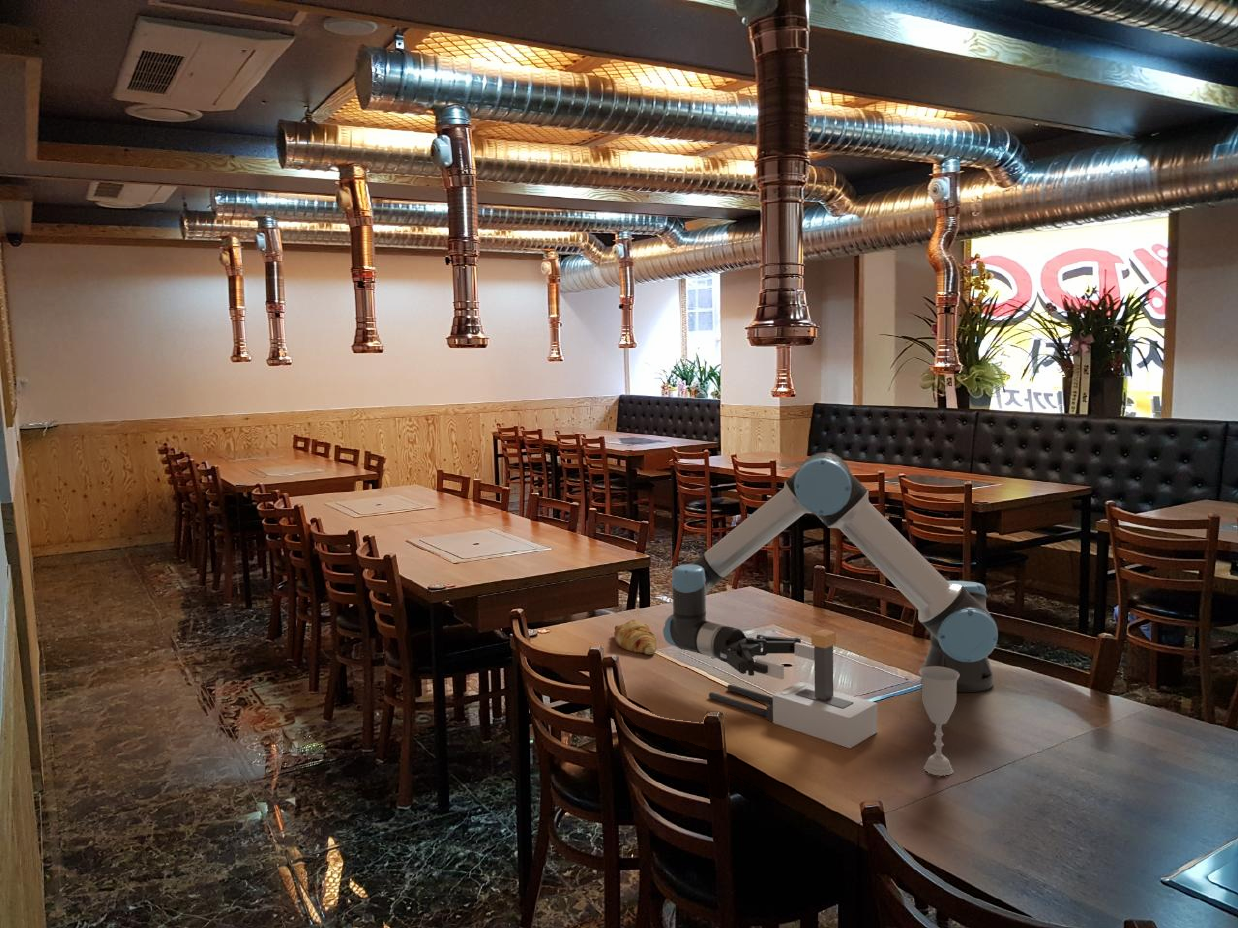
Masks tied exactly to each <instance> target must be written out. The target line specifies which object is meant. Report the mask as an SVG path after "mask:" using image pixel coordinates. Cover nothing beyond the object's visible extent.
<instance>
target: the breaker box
mask: <svg viewBox="0 0 1238 928" xmlns="http://www.w3.org/2000/svg"><path fill="white" fill-rule="evenodd" d="M772 697H773V704H772V705H773V721H772V723H773V724H776V725H779V726H781V727H784V728H788V729H791V730H794V731H796V732H800V733H802V734H805V735H808V736H812V737H815V738H818V739H821V740H824V741H827V742H829V743H834V744H836V745H839V746H842V747H845V748H848V749H852V748H853V747H856V746H857V745H858V744H860V743H862V742H863V741H865V740H867V739H868V738H870V737H871V736H873V735H875V734H876V733H878V703H877V702H874V701H871V700H868V699H864V698H860V697H857V696H853V695H850V694H846V693H843V692H839V691H835V690H833V696H832V697H830V698H828V699H826V700H823V699H819V698H816V697H815V684H811V683H807V682H804V681H800V682H797V683H795V684H793V685H791V686H788V687H787V688H784V689H782V690H780V691H778V692H775V693H774V694H773V693H772Z"/></svg>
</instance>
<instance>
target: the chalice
mask: <svg viewBox="0 0 1238 928" xmlns="http://www.w3.org/2000/svg"><path fill="white" fill-rule="evenodd" d="M918 670H919V671H918V673H919V675H920V677H921V700H922V703H923V707H924V709H925V711H926V713H927V716H928V717H929V720H930V722H931V723H933V724H935V727H936V728H935V732H934V733H933V734H934V736H935V741H934V742H933V745H934V746H935V753H933V754H932V755H930V756H929V757H928V758H927V761H926V762H925V765H924V767H923V770H924V769H925V770H924V772H925V771H927V772H928V773H927V772H926V773H927V774H929V773H931V774H934V775H940V776H942V775H944V776H945V775H950V774H952V773H953V774H954V770H953V768H952V764H951V762H950V760H949V758H948V757H947V756H945V755H944V754H943V753H942V748H943V746H944V743H943V741H942V738H943V736H944V733H943V731H942V726H943V725H946V724H947V723H948V721H949V719H950V717H951V716H952V714H953V712H954V710H955V707H956V704H957V692H956V690H957V680H958V678H959V676H960V674H959V673H958V672H957V671H955V670H953V669H950V668H946V667H940V666H929V667H924V668H923V667H922V668H920V669H918ZM931 774H930V775H931ZM953 774H952V775H953ZM934 775H933V776H934ZM940 776H939V777H940ZM950 776H951V775H950ZM945 777H946V776H945Z"/></svg>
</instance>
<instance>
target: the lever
mask: <svg viewBox="0 0 1238 928" xmlns="http://www.w3.org/2000/svg"><path fill="white" fill-rule="evenodd" d="M836 634H837V632H836V631H831V630H827V629H819V630H817V631H814V632H812V633H811V634H810V637H811V639H810V640H811V641H810V642H811V645H810V646H813V647H814V660H813V662H814V685H815V697H816V698H819V699H823V700H826V699H828V698H830V697H832V696H833V691H834V645H836V644H837V639H836V638H837V635H836Z"/></svg>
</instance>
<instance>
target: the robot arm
mask: <svg viewBox="0 0 1238 928" xmlns="http://www.w3.org/2000/svg"><path fill="white" fill-rule="evenodd" d="M805 514H813V515H815V516H817V518H819V520H821V522H822V523H823V524H824V525H825V526H827V528H829V529H838V530H840V531H841V532H842V533H843V534H844V535H845V536H846V537H847V538H848V539H849V541H851V542H852V544H854V546H856V548H857V549H858V550H859V551H861V553H862V554H863V555H864V556H865V557H866V558H867V559H868V560H869V561H870V562H871V563H872V564H873V565H874V566H875V567H876V568H877V569H878V570H879V572H881V573H882V574H883V575H884V577H886V578H887V579H888V581H890V582H891V583H892V584H893V585H894V587H896V588H897V590H898V591H900V593H901V594H902V595H903V596H904V597H905V598H906V599H907V600H908V601H909V603H911V604H912V605H913V607H914V608H916V609H917V610H918V612H917V613H918V615H917V616H918V619H917V620H918V621H919V623H921V624H922V625H923V626H924V628H926V630H927V631H928V632H929V633H930V646H929V649H928V651H927V654H926V656H925V660H924V663H923V666H922V668H924V667H929V666H940V667H946V668H950V669H953V670H955V671H957V672H958V673H959V674H960V676H959V678H958V680H957V690H956V693H977V692H979V693H980V692H983V691H987V690H990V689H991V688H992V687H993V686H994V673H993V670H992V669H993V668H992V666H991V664H990V661H989V658H988V657H989V655H990V654H992V652H993V651H994V649H995V647H996V646H997V643H998V637H999V631H998V625H997V622H996V620H995V619H994V618H993V617H992V615H991V613H990V611H989V610H988V608H987V596H988V594H987V589H986V586H985V585H984V584H982V583H980V582H975V581H966V580H947V579H946V578H945V577H944V576H943V575H942V574H941V573H940V572H939V571H938V570H937V569H936V568H935V567H934V566H933V565H932V564H931V563H930V562H929V561H928V560H927V559H926V558H925V557H924V556H923V555H922V554H921V553H920V551H918V550H917V549H916V548H915V547H914V546H913V545H912V544H911V543H910V542H909V541H908V540H907V539H906V537H904V536H903V535H902V534H901V533H900V532H899V530H898V529H896V527H894V525H893V524H892V523H891V522H890V521H888V519H887V518H886V517H885V516H884V515H883V514H882V513H881V512H880V511H879V510H878V509H877V508H876V507H875V506H874V505H873V504H872V503H871V502H870V500H869V490H868V489H867V488H866V487H865V486H864V485H863V484H862V483H861V482H860V481H859V479H857V478H856V477H855V475H853V474H852V472H851V470H850V468H849V466H848V464H847V463H846V461H844V459H843V458H842V457H840V456H838V454H837V455H836V454H834V453H832V452H819V453H818V452H817V453H814V454H813V455H810V456H809V457H808V458H806V459H805V460H804V461H803V463H802V464H801V466H800V467H799V468H798V469H797V470H796V471H795V472H794V473H793V474H792V475H790V477H789V478H788V479H786V480H785V481H784V486H783V488H782V489H781V490H779V491H778V492H777V493H776V494H775V495H773V496H772V497H771V498H770V499H768V500H767V501H766V502H765V503H764V504H762V505H761V506H760V507H759V508H757V510H755V511H754V512H753V513H751V514H750V515H749V516H748V517H747V518H746V519H744V520H743V521H742V522H741V523H739V524H738V525H736V527H734V528H733V529H732V530H731V531H730V532H729V533H726V535H725V536H724V537H723V538H721V539H720V540H718V541H717V542H716V543H715V544H714V545H713V546H711V547H710V548H708V550H706V551H705V552H704V553H703V554H702V555H701V556H699V557H698V558H697V559H696V560H693V561H691V562H690V563H689V564H680V565H678V566H675V567H674V568H673V569H672V572H671V573H672V574H671V575H672V576H671V577H672V580H671V587H672V588H671V590H672V614H671V615H669V616H668V617H667V618H666V620H665V622H664V624H665V625H664V626H663V631H662V632H663V637H664V641H666V643H668V644H669V645H670V646H672V647H676V648H678V649H680V650H683V651H688V652H691V653H696V654H700V655H703V656H706V657H710V659H712V660H713V659H718V660H720V661H721V662H724V663H726V664H728V665H729V666H731V668H733V669H734V670H736V672H739V673H740V674H742V675H744V674H746V673H747V674H748V676H750V677H751V676H752V677H753V676H755V673H758V674H761V675H764V676H769V677H771V678H775V679H779V680H784V679H785V673H784V672H785V670H784V669H785V668H784V666H785V665H784V664H780V663H776V662H773V661H769V660H765V659H761V658H754V657H757V656H760V657H763V656H767V654H793V655H794V656H795V657H799V658H802V659H808V660H811V661H814V646H813V645H808V644H805V643H802V641H801V638H798V637H794V638H793V637H780V636H767V635H763V634H756V638H754V637H746V635H745V633H744V632H743V630H741V629H740V628H738V627H737V628H736V627H733V626H728V625H725V624H721V623H717V622H713V621H708V620H707V616H706V615H707V611H706V605H707V604H706V602H707V600H706V596H707V594H708V593H709V592H710V590H711V589H712V588H713V587H714V586H716V585H718V583H719V582H721V581H723V579H724V578H726V577H727V576H728V575H730V573H731V572H733V571H735V570H736V569H737V568H738V567H740V566H741V565H742V564H743V563H744V562H745V561H747V560H748V559H749V558H751V557H752V556H753V555H754V554H756V553H757V552H758V551H759V550H760V549H762V548H763V547H764V546H766V545H767V544H768V543H769V542H770V541H772V540H774V538H775V537H777V536H778V535H779V534H781V533H782V532H783V531H785V529H787V528H788V527H789V526H791V525H792V524H793V523H795V522H796V521H797V520H798V519H800V517H802V516H803V515H805ZM754 660H755V661H754Z"/></svg>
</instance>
